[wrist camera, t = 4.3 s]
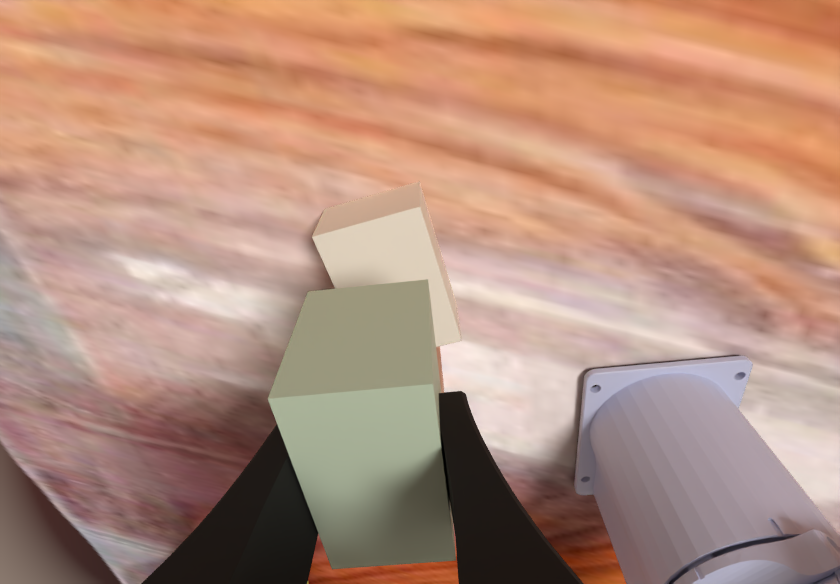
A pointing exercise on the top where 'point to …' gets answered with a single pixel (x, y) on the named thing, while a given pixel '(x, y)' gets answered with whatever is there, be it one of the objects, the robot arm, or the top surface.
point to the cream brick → (389, 249)
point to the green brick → (367, 424)
